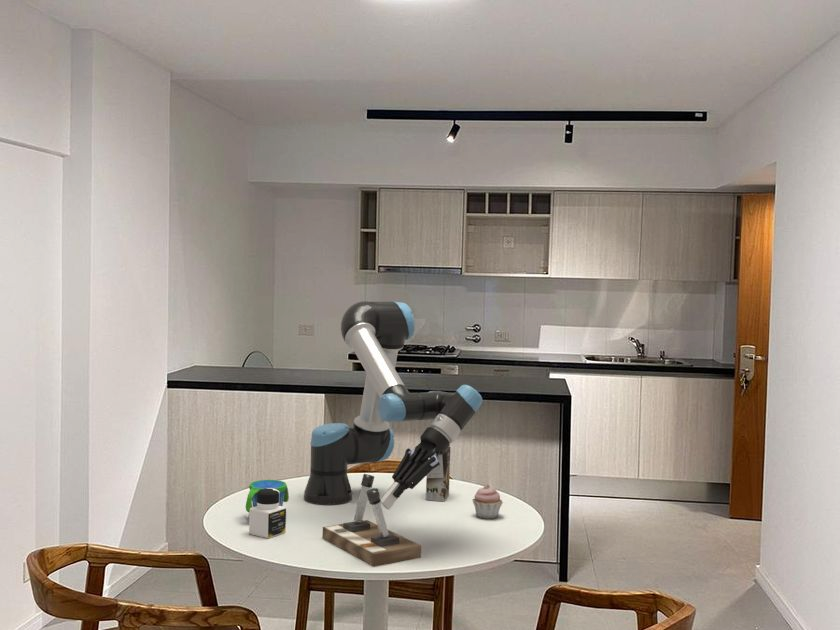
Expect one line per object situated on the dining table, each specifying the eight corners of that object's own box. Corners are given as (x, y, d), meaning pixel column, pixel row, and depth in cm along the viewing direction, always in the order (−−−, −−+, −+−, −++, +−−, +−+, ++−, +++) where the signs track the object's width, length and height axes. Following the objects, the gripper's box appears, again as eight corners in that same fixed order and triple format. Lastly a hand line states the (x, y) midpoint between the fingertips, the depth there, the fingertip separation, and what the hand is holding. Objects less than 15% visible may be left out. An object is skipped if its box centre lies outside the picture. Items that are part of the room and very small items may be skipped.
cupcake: (464, 515, 255) (465, 482, 255) (485, 510, 262) (486, 478, 261) (488, 522, 248) (489, 488, 248) (508, 517, 255) (510, 484, 255)
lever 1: (349, 519, 228) (361, 473, 229) (359, 520, 230) (370, 475, 231) (355, 522, 226) (367, 475, 227) (364, 523, 227) (376, 477, 229)
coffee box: (444, 501, 270) (446, 451, 270) (425, 500, 272) (426, 450, 271) (449, 495, 279) (451, 446, 279) (430, 493, 281) (432, 444, 280)
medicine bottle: (268, 539, 226) (269, 494, 226) (248, 534, 230) (249, 490, 230) (286, 532, 232) (287, 489, 232) (266, 528, 236) (267, 485, 236)
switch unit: (322, 538, 229) (323, 521, 228) (367, 530, 237) (367, 514, 236) (373, 566, 207) (374, 548, 207) (420, 557, 215) (421, 539, 215)
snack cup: (258, 528, 236) (259, 491, 236) (233, 520, 243) (234, 485, 242) (299, 517, 248) (300, 482, 248) (275, 510, 255) (276, 476, 254)
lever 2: (376, 536, 216) (364, 492, 214) (386, 531, 218) (373, 487, 215) (382, 539, 214) (370, 495, 211) (392, 534, 216) (380, 489, 213)
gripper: (417, 422, 228) (362, 490, 219) (446, 429, 217) (389, 502, 209) (433, 440, 231) (379, 508, 223) (462, 448, 221) (406, 521, 212)
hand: (384, 505), depth 216 cm, fingers closed
